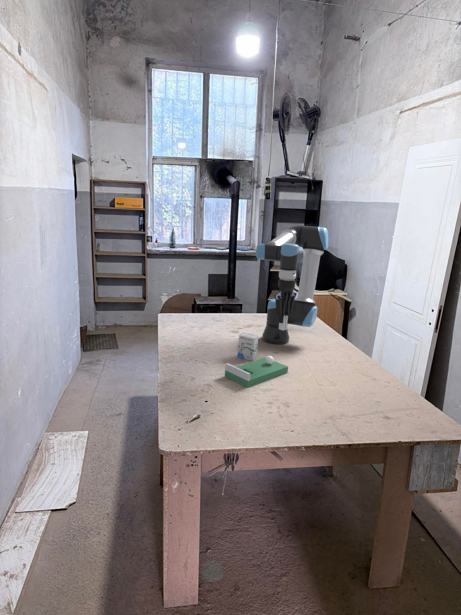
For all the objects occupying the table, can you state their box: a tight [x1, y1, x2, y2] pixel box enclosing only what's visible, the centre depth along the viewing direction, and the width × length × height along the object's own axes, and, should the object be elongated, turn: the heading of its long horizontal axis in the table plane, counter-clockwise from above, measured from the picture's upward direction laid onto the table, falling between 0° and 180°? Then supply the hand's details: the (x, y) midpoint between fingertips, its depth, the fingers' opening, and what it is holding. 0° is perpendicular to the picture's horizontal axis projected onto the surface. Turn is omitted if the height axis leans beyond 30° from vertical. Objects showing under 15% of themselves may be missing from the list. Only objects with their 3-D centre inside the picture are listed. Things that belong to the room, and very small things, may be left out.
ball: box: [265, 355, 275, 365], centre depth 193 cm, size 4×4×4 cm
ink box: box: [237, 332, 259, 362], centre depth 207 cm, size 9×5×12 cm, turn 62°
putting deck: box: [224, 356, 289, 388], centre depth 188 cm, size 14×26×6 cm, turn 133°
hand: (282, 329), depth 195 cm, fingers closed
